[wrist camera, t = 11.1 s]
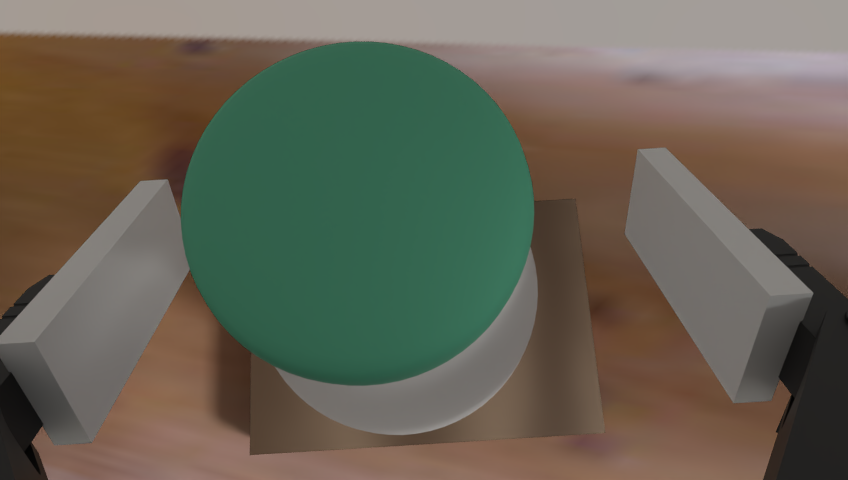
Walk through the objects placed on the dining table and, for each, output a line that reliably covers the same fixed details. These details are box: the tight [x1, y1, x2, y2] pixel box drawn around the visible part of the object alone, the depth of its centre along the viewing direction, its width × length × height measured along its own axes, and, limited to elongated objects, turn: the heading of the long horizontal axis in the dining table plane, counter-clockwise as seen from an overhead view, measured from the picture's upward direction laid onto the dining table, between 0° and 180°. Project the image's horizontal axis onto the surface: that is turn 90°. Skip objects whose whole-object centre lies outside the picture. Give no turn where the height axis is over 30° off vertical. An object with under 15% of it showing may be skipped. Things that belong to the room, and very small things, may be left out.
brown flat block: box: [250, 199, 605, 455], centre depth 28 cm, size 16×11×3 cm
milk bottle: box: [181, 42, 538, 435], centre depth 17 cm, size 8×8×20 cm
